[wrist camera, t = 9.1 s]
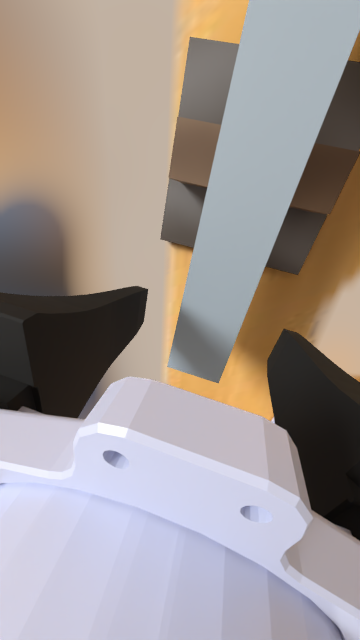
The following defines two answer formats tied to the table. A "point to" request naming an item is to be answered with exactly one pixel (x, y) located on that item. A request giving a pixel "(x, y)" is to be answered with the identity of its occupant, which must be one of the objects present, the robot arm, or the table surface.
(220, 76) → the fulcrum
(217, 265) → the batten
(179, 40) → the table surface
